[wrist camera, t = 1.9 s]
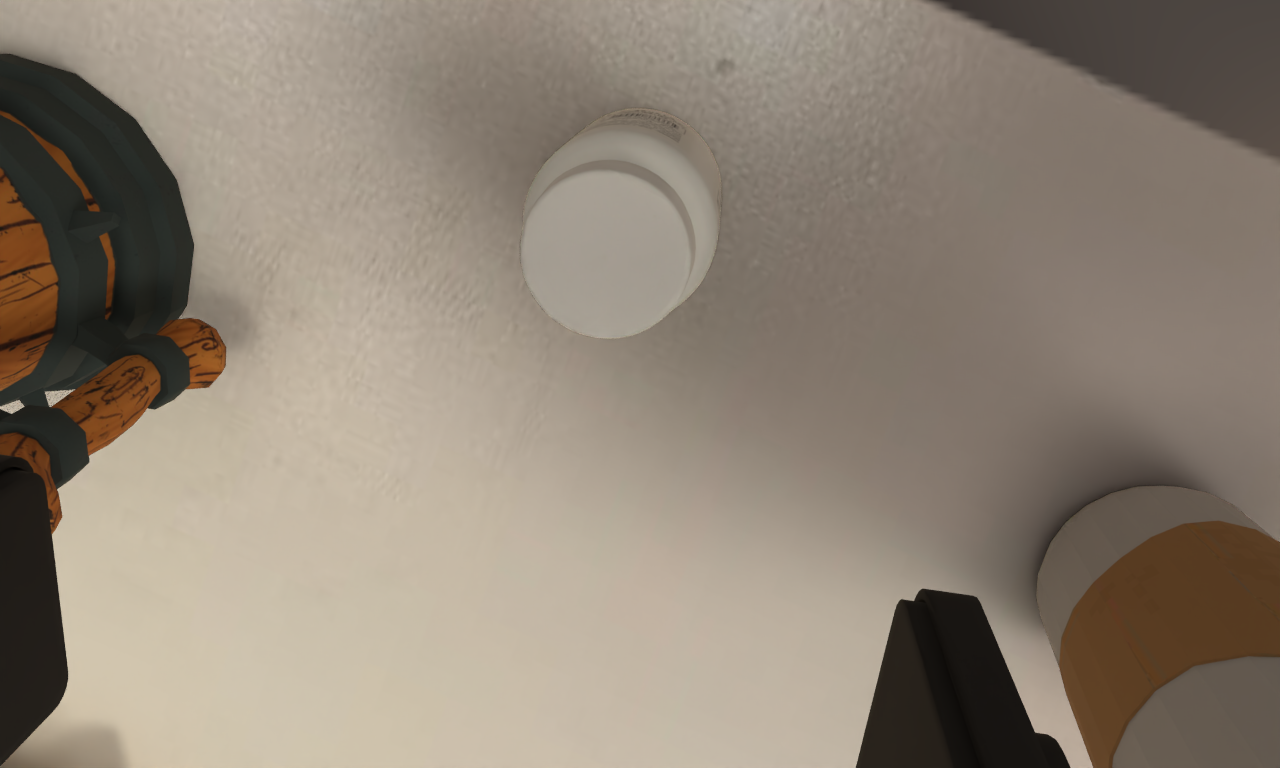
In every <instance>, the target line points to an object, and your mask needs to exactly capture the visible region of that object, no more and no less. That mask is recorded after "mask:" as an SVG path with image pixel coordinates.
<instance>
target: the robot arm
mask: <svg viewBox="0 0 1280 768" xmlns="http://www.w3.org/2000/svg"><path fill="white" fill-rule="evenodd" d="M67 682H68V667H67V659H66V650H65V642H64V634H63V625H62V617H61V608H60V600H59V592H58V583H57V575H56V566H55V558H54V550H53V541H52V533H51V524H50V516H49V508H48V499H47V491H46V486H45V482H44V480H43V478H42V477H41V476H40V475H39V474H37V473H34V471H33V468H32V467H31V465H30V464H29V462H28V461H27V460H25V459H23V458H22V457H15V456H8V455H2V454H0V766H1V765H2V764H3V763H4V762H5V761H6V760H7V759H8V758H9V757H10V755H11V754H12V753H13V752H14V751H15V750H16V749H17V748H18V747H19V746H20V745H21V744H22V743H23V742H24V741H25V740H26V739H27V738H28V737H29V736H30V735H31V734H32V733H33V732H34V731H35V729H36V728H37V727H38V726H39V725H40V724H41V723H42V722H43V721H44V720H45V719H46V718H47V717H48V716H49V715H50V714H51V713H52V712H53V711H54V710H55V708H56V707H57V706H58V705H59V703H60V701H61V699H62V697H63V695H64V693H65V690H66V687H67ZM856 768H1070V766H1069V763H1068V761H1067V759H1066V757H1065V755H1064V752H1063V750H1062V749H1061V747H1060V746H1059V744H1058V742H1057V741H1056V740H1055V739H1054V738H1052V737H1051V736H1049V735H1047V734H1040V733H1035V732H1034V729H1033V727H1032V724H1031V722H1030V720H1029V717H1028V715H1027V713H1026V710H1025V708H1024V705H1023V703H1022V701H1021V698H1020V696H1019V693H1018V691H1017V689H1016V686H1015V684H1014V682H1013V679H1012V677H1011V674H1010V672H1009V670H1008V667H1007V665H1006V663H1005V660H1004V658H1003V655H1002V653H1001V651H1000V648H999V646H998V644H997V641H996V639H995V636H994V634H993V632H992V629H991V627H990V625H989V622H988V620H987V617H986V615H985V613H984V610H983V608H982V606H981V603H980V601H979V600H978V598H977V597H974V596H970V595H963V594H956V593H949V592H942V591H936V590H929V589H921V590H920V591H919V592H918V594H917V596H916V598H915V601H909V600H903V599H901V600H900V601H899V602H898V604H897V606H896V610H895V613H894V617H893V621H892V625H891V629H890V633H889V637H888V641H887V645H886V649H885V653H884V657H883V661H882V665H881V669H880V673H879V677H878V681H877V685H876V689H875V693H874V697H873V701H872V705H871V709H870V713H869V717H868V721H867V725H866V729H865V733H864V737H863V741H862V745H861V749H860V753H859V757H858V761H857V765H856Z"/></svg>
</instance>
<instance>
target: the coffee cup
mask: <svg viewBox="0 0 1280 768" xmlns="http://www.w3.org/2000/svg"><path fill="white" fill-rule="evenodd" d="M1036 600H1037V604H1038V608H1039V612H1040V615H1041V619H1042V623H1043V625H1044V628H1045V631H1046V633H1047V636H1048V639H1049V641H1050V644H1051V647H1052V649H1053V652H1054V655H1055V657H1056V660H1057V663H1058V665H1059V668H1060V672H1061V676H1062V680H1063V684H1064V687H1065V691H1066V695H1067V697H1068V700H1069V703H1070V705H1071V708H1072V711H1073V714H1074V716H1075V719H1076V722H1077V724H1078V727H1079V730H1080V733H1081V735H1082V738H1083V741H1084V743H1085V746H1086V749H1087V751H1088V754H1089V757H1090V760H1091V762H1092V765H1093V768H1280V542H1278V541H1277V540H1275V539H1274V538H1273V537H1272V536H1270V535H1269V534H1268V533H1267V532H1265V531H1264V530H1263V529H1262V528H1261V527H1259V526H1258V525H1257V524H1256V523H1254V522H1253V521H1252V520H1251V519H1250V518H1248V517H1247V516H1246V515H1245V514H1243V513H1242V512H1241V511H1240V510H1239V509H1237V508H1236V507H1235V506H1234V505H1232V504H1230V503H1228V502H1226V501H1224V500H1222V499H1220V498H1218V497H1216V496H1214V495H1211V494H1209V493H1207V492H1203V491H1198V490H1192V489H1187V488H1182V487H1170V486H1137V487H1133V488H1129V489H1125V490H1122V491H1118V492H1114V493H1110V494H1108V495H1106V496H1104V497H1102V498H1100V499H1098V500H1096V501H1094V502H1092V503H1090V504H1088V505H1086V506H1085V507H1084V508H1082V509H1081V510H1080V511H1079V512H1077V513H1076V514H1075V515H1074V516H1073V517H1071V518H1070V519H1069V520H1068V521H1067V522H1065V524H1064V525H1063V526H1062V528H1061V529H1060V530H1059V532H1058V533H1057V534H1056V536H1055V537H1054V538H1053V540H1052V541H1051V543H1050V545H1049V548H1048V550H1047V552H1046V555H1045V558H1044V560H1043V563H1042V565H1041V568H1040V571H1039V573H1038V581H1037V596H1036Z"/></svg>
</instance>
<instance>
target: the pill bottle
mask: <svg viewBox="0 0 1280 768" xmlns="http://www.w3.org/2000/svg"><path fill="white" fill-rule="evenodd" d="M721 201H722V189H721V178H720V173H719V169H718V166H717V163H716V160H715V158H714V156H713V154H712V152H711V150H710V149H709V147H708V145H707V144H706V143H705V141H704V140H703V139H702V137H701V136H700V135H699V134H698V133H697V132H696V131H695V130H694V129H693V128H692V127H691V126H689V125H688V124H686V123H685V122H683V121H682V120H680V119H678V118H676V117H675V116H673V115H670V114H668V113H665V112H661V111H658V110H654V109H645V108H628V109H623V110H619V111H615V112H612V113H609V114H607V115H604V116H602V117H600V118H599V119H597V120H595V121H594V122H592V123H591V124H590V125H588V126H587V127H586V128H584V129H583V130H582V131H580V132H579V133H578V134H577V135H576V136H574V137H573V138H572V139H571V140H569V141H568V142H567V143H566V144H564V145H563V146H562V147H561V148H559V149H558V150H557V151H556V152H555V153H554V154H553V155H552V156H551V157H550V158H549V159H548V160H547V161H546V162H545V163H544V165H543V166H542V167H541V169H540V170H539V172H538V173H537V175H536V176H535V178H534V180H533V182H532V184H531V186H530V188H529V191H528V194H527V197H526V200H525V205H524V210H523V230H522V234H521V240H520V263H521V267H522V272H523V275H524V279H525V282H526V284H527V287H528V288H529V290H530V292H531V294H532V296H533V297H534V299H535V300H536V301H537V303H538V304H539V306H540V307H541V308H542V310H543V311H544V312H546V313H547V314H548V315H549V316H550V317H551V318H552V319H553V320H555V321H556V322H558V323H559V324H561V325H562V326H564V327H566V328H567V329H569V330H571V331H573V332H576V333H578V334H581V335H585V336H588V337H594V338H600V339H615V338H623V337H627V336H632V335H635V334H637V333H640V332H642V331H645V330H647V329H649V328H650V327H652V326H654V325H655V324H657V323H658V322H659V321H661V320H662V319H663V318H664V317H666V316H667V315H668V314H669V313H670V312H671V311H672V310H673V309H675V308H676V307H678V306H679V305H680V304H682V303H683V302H684V301H685V300H686V299H688V297H689V296H690V295H691V294H692V293H693V292H694V291H695V290H696V289H697V287H698V286H699V285H700V283H701V282H702V281H703V279H704V277H705V276H706V274H707V272H708V270H709V268H710V266H711V263H712V260H713V258H714V254H715V250H716V246H717V242H718V235H719V226H720V214H721Z"/></svg>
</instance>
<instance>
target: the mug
mask: <svg viewBox="0 0 1280 768" xmlns="http://www.w3.org/2000/svg"><path fill="white" fill-rule="evenodd" d="M193 249H194V244H193V240H192V236H191V233H190V229H189V225H188V221H187V218H186V214H185V210H184V207H183V203H182V199H181V196H180V192H179V188H178V184H177V181H176V179H175V177H174V176H173V174H172V173H171V171H170V170H169V168H168V167H167V166H166V164H165V163H164V161H163V160H162V158H161V157H160V155H159V154H158V152H157V151H156V149H155V148H154V146H153V145H152V144H151V142H150V141H149V139H148V138H147V136H146V135H145V133H144V132H143V130H142V129H141V127H140V126H139V124H138V123H137V122H136V120H135V119H134V118H133V117H131V116H130V115H129V114H127V113H126V112H125V111H123V110H122V109H121V108H119V107H118V106H117V105H116V104H114V103H113V102H112V101H110V100H109V99H108V98H106V97H105V96H104V95H102V94H101V93H100V92H98V91H97V90H96V89H95V88H93V87H92V86H91V85H89V84H88V83H87V82H85V81H84V80H83V79H81V78H80V77H79V76H77V75H76V74H73V73H70V72H66V71H63V70H60V69H57V68H53V67H50V66H47V65H44V64H41V63H37V62H34V61H31V60H28V59H24V58H21V57H18V56H15V55H11V54H1V55H0V406H3V405H5V404H8V403H11V402H14V401H16V400H20V401H21V402H22V404H23V405H24V406H25V407H23V408H22V409H20V410H18V411H16V412H15V413H13V414H10V413H8V412H5V411H3V410H1V409H0V454H2V455H8V456H15V457H22V458H23V459H25V460H27V461H28V462H29V464H30V465H31V467H32V468H33V471H34V473H37V474H39V475H40V476H41V477H42V478H43V480H44V482H45V486H46V491H47V499H48V508H49V516H50V524H51V533H53V532H54V531H55V530H56V528H57V526H58V524H59V522H60V520H61V518H62V512H61V506H60V500H59V494H58V491H57V489H58V488H59V487H61V486H62V485H64V484H65V483H67V482H68V481H69V480H71V479H72V478H73V477H74V476H75V475H76V474H77V473H78V472H79V471H80V470H81V469H83V468H84V467H85V466H86V465H87V464H88V463H89V455H91V454H93V453H94V452H96V451H98V450H100V449H102V448H104V447H105V446H107V445H109V444H110V443H111V442H113V441H114V440H115V439H116V438H118V437H119V436H120V435H121V434H123V433H124V432H125V431H126V430H127V429H129V428H130V427H131V426H132V425H133V424H134V423H135V422H136V421H137V420H138V419H139V418H140V417H141V416H142V414H143V413H144V412H145V410H146V409H147V408H149V409H157V408H159V407H161V406H163V405H164V404H166V403H168V402H170V401H172V400H174V399H175V398H176V397H177V396H178V395H180V394H181V393H182V392H183V391H184V390H185V389H195V388H207V387H209V386H210V385H211V384H212V383H213V382H214V381H215V380H216V379H217V377H218V376H219V375H220V374H221V373H222V371H223V370H224V368H225V366H226V346H225V344H224V343H223V341H222V339H221V337H220V336H219V334H218V332H217V330H216V329H215V328H213V327H211V326H210V325H208V324H206V323H204V322H203V321H201V320H199V319H192V318H188V319H178V318H179V316H180V315H181V313H182V312H183V310H184V309H185V307H186V306H187V299H188V291H189V282H190V274H191V266H192V257H193ZM72 389H76V390H74V391H73V392H71V393H70V394H69V395H67V396H66V397H64V398H63V399H62V400H60V401H59V402H58V403H56V404H55V405H53V406H52V407H49V405H48V402H47V399H46V395H45V391H59V390H72Z"/></svg>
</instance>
